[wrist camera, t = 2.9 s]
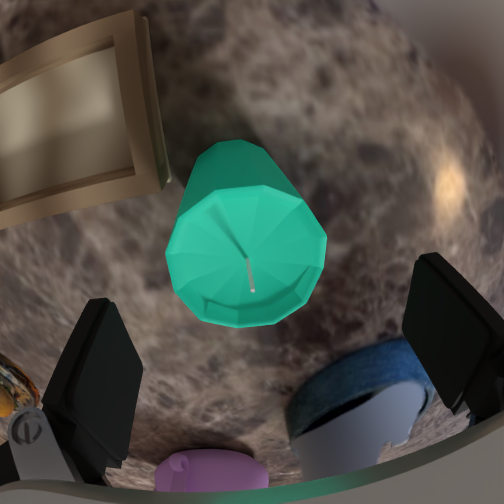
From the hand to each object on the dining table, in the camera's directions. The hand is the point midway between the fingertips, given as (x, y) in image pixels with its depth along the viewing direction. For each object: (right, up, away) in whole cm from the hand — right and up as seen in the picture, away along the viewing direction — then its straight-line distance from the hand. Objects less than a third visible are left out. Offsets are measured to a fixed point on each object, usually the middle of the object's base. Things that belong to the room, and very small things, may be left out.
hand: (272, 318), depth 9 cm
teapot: (-9, -31, +32) cm, 45 cm away
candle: (-2, +7, +11) cm, 13 cm away
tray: (-14, +10, +8) cm, 19 cm away
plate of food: (-33, -15, +20) cm, 41 cm away
